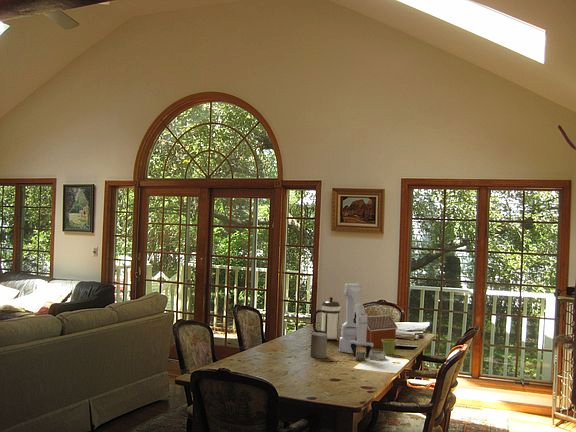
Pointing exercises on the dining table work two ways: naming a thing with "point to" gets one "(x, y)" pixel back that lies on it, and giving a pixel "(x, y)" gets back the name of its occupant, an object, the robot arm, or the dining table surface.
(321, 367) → the dining table surface
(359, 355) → the cap
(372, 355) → the faceted ring
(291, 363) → the dining table surface
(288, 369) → the dining table surface
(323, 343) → the pillar candle
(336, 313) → the coffee press
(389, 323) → the gingerbread house
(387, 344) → the plant pot
